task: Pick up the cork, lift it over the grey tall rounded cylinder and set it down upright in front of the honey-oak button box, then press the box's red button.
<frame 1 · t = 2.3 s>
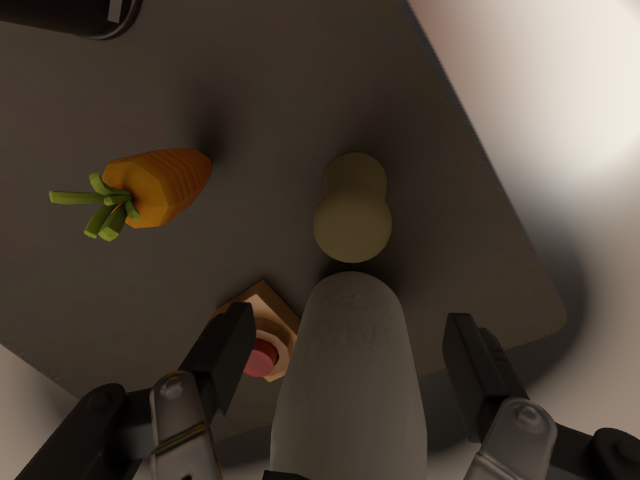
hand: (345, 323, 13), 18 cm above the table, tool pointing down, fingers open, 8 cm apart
button box: (269, 325, 38), on the table
red button: (257, 357, 33), point 5 cm above the table, slide at 0.1 cm
carrot: (208, 161, 29), on the table
cork: (354, 184, 29), on the table
grey tall rounded cylinder: (352, 292, 34), on the table
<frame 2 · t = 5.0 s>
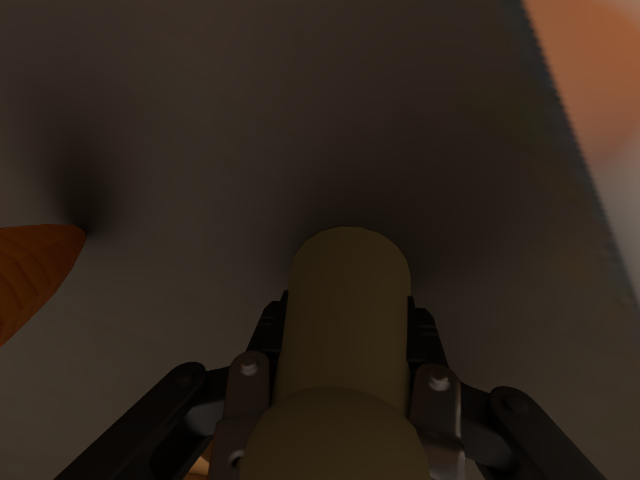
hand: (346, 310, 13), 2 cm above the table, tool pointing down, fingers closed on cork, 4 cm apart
button box: (218, 459, 24), on the table
carrot: (85, 230, 16), on the table
cork: (348, 278, 16), on the table, touching gripper
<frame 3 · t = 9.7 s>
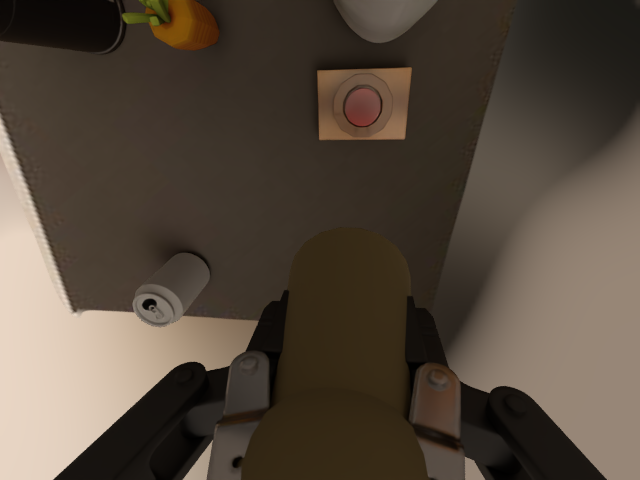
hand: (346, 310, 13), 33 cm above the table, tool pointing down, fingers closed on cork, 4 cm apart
can: (192, 267, 55), on the table
button box: (362, 104, 40), on the table
red button: (362, 107, 36), point 5 cm above the table, slide at 0.1 cm
carrot: (216, 33, 38), on the table
cork: (348, 279, 16), point 31 cm above the table, touching gripper
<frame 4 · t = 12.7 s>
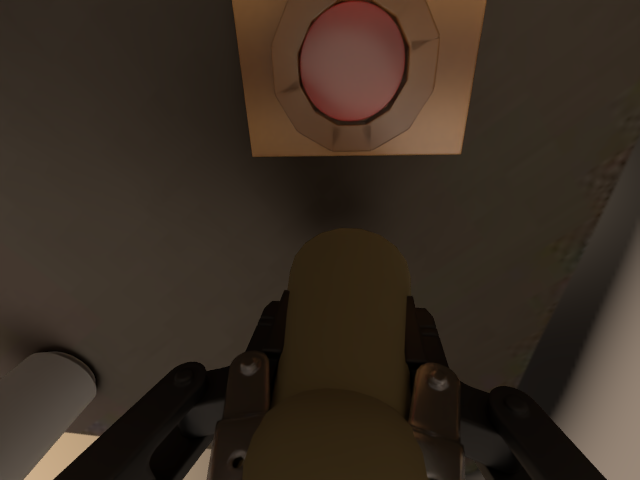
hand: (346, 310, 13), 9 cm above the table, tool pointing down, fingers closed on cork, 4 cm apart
can: (70, 370, 32), on the table
button box: (354, 72, 17), on the table
red button: (352, 66, 12), point 5 cm above the table, slide at 0.1 cm
cork: (348, 280, 16), point 6 cm above the table, touching gripper
when the fingers open (2 cm above the table, at t = 14.8 s): cork stays where it is, on the table.
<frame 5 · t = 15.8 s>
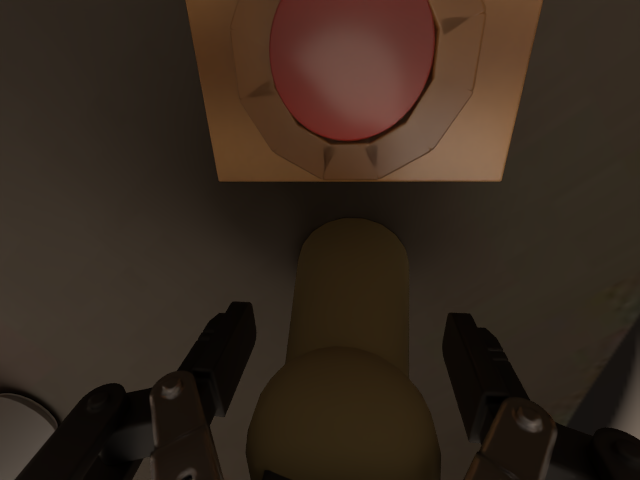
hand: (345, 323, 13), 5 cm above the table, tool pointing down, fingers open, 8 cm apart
can: (28, 412, 28), on the table
button box: (354, 69, 13), on the table
red button: (350, 58, 8), point 5 cm above the table, slide at 0.1 cm
cork: (352, 266, 17), on the table
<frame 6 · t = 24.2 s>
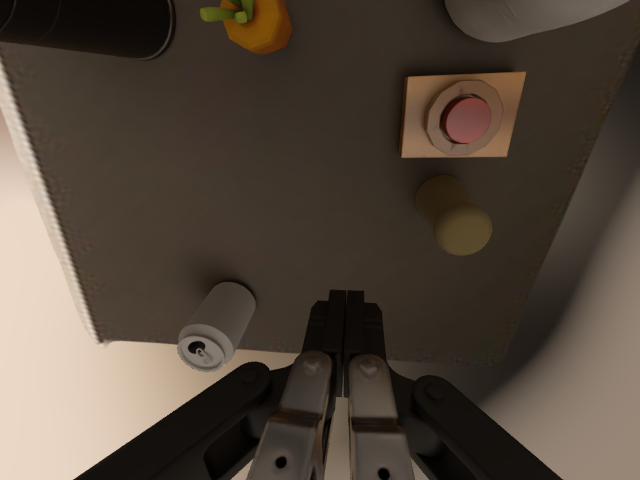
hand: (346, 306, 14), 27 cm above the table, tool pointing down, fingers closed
can: (235, 297, 49), on the table
button box: (452, 115, 34), on the table
red button: (465, 120, 29), point 5 cm above the table, slide at 0.1 cm
carrot: (282, 34, 33), on the table
cork: (439, 198, 38), on the table
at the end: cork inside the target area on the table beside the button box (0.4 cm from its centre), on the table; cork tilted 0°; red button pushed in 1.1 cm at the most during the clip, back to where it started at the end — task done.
